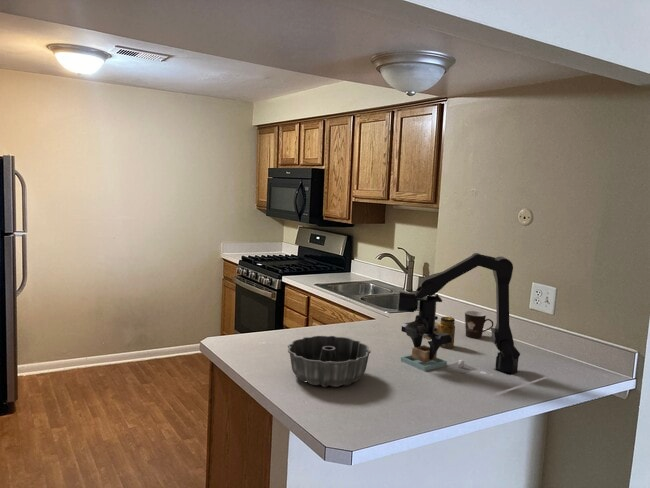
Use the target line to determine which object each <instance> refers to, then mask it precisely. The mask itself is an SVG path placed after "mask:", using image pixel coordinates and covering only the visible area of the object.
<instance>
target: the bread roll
mask: <svg viewBox="0 0 650 488" xmlns="http://www.w3.org/2000/svg"><path fill="white" fill-rule="evenodd" d="M439 325H440V324H439V323H438V322H435V328H437V331H434V333H439ZM423 338H424V339H427V340H432V338H431V337H428V336H426V335H423Z"/></svg>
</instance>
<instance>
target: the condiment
mask: <svg viewBox="0 0 650 488" xmlns="http://www.w3.org/2000/svg"><path fill="white" fill-rule="evenodd" d="M455 323H456V322H455V318H453V317H451V316H441V318H440V324H439V332H444V333H447V334H450V335H451V337H452V341H451V343H447V344H442V345H441V346H440V347H439V348H441V349H448V350H449V349H453V348H454V347H455V346H454V345H455V335H456V333H455V332H456V326H455Z"/></svg>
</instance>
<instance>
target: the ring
mask: <svg viewBox="0 0 650 488" xmlns="http://www.w3.org/2000/svg"><path fill="white" fill-rule="evenodd" d="M437 352H438V351H437ZM437 352H436V354H435V356H434V357H433V359H431V360H430V358H429V353H430V346H427V345H424V344H422V345H421V346H418V347H414V346H413V347H412V348H411V355H412V358H414V359H417V360H419V361H422V362H424V363H425V362H429V361H433V360H436V357H437V356H438V355H437V354H438V353H437Z"/></svg>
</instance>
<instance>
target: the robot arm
mask: <svg viewBox="0 0 650 488" xmlns="http://www.w3.org/2000/svg"><path fill="white" fill-rule="evenodd" d="M477 267H482V268H484V269H487V270H491V271H492V275H493V278H494V281H495V289H496V290H495V294H496V295H495V296H496V297H495V301H496V303H495V304H496V323H495V327H492V328H491V329H490V331H491V336H490V340H491V342H493V344H494V346H495V347H496V349H497V350H498V352H497V356H496V357H495V368H493V371H496V372H499V373H501V374H505V375H508V376H511V375H515V374H518V373H520V372H521V371H519V370H518V368H519V359H520V356H521V352H520V351H519V350H518V349H517V347H516V346H515V342H514V337H513V332H512V329H511V326H510V283H511V280H512V277H513V271H514V264H513V262H512V261H511V260H510V259H508V258H506V257H504V256H497V257H494V256H489V255H486V254H481V253H479V252H474V253H473V254H471V255H470V256H468V257H466V258H465V259H463V260H461V261H459V262H457V263H456V264H453V265H452V266H450V267H449V268H447V269H445V270H443V271H441V272H436V273H433V274H430V275H427V276H424V277H423V278H422V279H421V280H420V285H419V286H418V287H417V288H416V290H414V292H406V291H399V292H398V293H399V295H398V300H397V312H403V313H404V312H405V313H415V312H416V311H417V310H418V314H417V315H415V319H414V320H413V321H411V322H410V321H409V322H404V323H402V325H401V332H403V333H405V334H406V336H408V337H409V338H410V339H411V341H412V344H413V348H414V347H418V346H422V343H423V338H424V337H423V335H426V336H428V337H431V338H432V339H431V340H430V341H429V340H428V341H427V343H428V345H429V347H430V353H429V358H430V360H431V359H433V357H434V356H435V354H436V352H438V351H439V348H441V347H440V346H441V345H442V344H447V343H451V341H452V337H451V335H450V334H447V333H444V332H439V333H434V331H437V328H435V323H436V321H437V320H439V317H438V316H437V314H436V311H437V303H442V302H443V299H442V297H440V295H439V294H438V292H439V291H440V290H442V289H443V288H444V287H445V286H446V285H447V284H448V283H450V282H452V281H453V280H455V279H458V278H459V277H460V276H462V275H465V274H467V273H468V272H470V271H472V270H473V269H476V268H477ZM418 305H419V306H418Z"/></svg>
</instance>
